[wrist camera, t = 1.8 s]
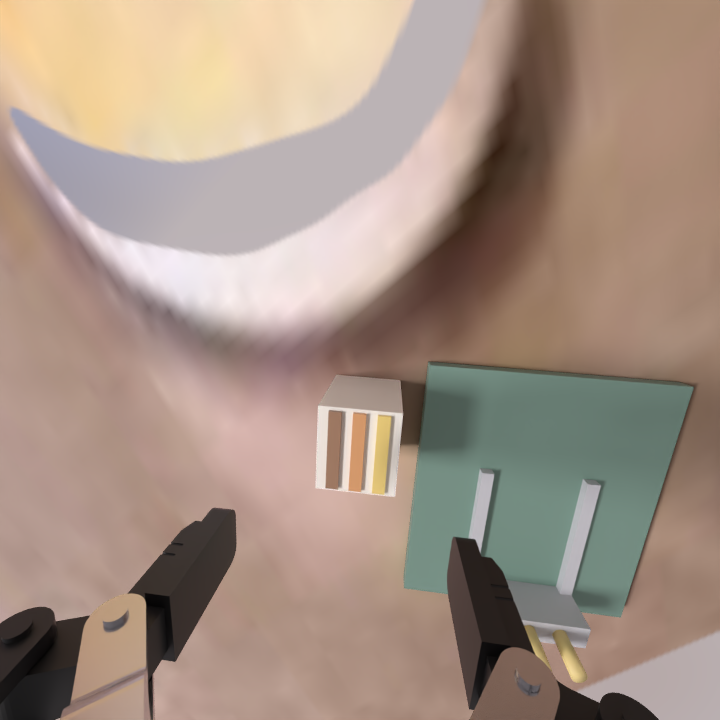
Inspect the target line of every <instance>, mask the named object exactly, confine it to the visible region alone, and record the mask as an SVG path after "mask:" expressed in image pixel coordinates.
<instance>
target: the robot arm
mask: <svg viewBox="0 0 720 720" xmlns="http://www.w3.org/2000/svg"><path fill="white" fill-rule="evenodd" d="M235 551H236V515H235V511H234V510H230V509H222V508H213V509H211V510H210V512H209V513H208V514H207V515H206V517H205V518H204V519H203V520H202V522H201V521H195V522H193V523H192V524H190V525H189V526H187V527H186V528H184V529H183V530H181V532H180V533H179V534H178V535H177V536H176V537H175V539H174V540H173V541H172V542H171V545H169V546H168V547H167V548H166V549H165V550H164V551H163V554H162V555H160V556H159V557H158V559H157V560H156V561H155V562H154V563H153V564H152V566H151V567H150V568H149V569H148V570H147V571H146V573H145V574H144V575H143V576H142V577H141V578H140V580H139V581H138V582H137V583H136V584H135V586H134V587H133V588H132V589H131V590H130V591H129V593H128V594H123V595H120V596H117V597H114V598H112V599H110V600H108V601H107V602H105V603H104V604H102V605H101V606H100V607H98V608H97V609H96V610H95V611H94V612H93V613H92V614H91V615H90V616H85V617H79V618H73V619H67V620H62V621H55V615H54V612H53V611H52V610H51V609H50V608H47V607H35V608H31V609H27V610H24V611H22V612H19V613H17V614H15V615H13V616H11V617H9V618H8V619H6V620H5V621H3V622H2V623H0V720H56V719H58V718H60V720H155V709H154V675H153V673H154V671H155V670H156V668H157V666H158V665H159V663H160V662H161V660H168V661H174V662H175V661H176V660H177V658H178V656H179V654H180V653H181V651H182V649H183V647H184V646H185V644H186V642H187V640H188V639H189V637H190V635H191V633H192V632H193V630H194V628H195V626H196V625H197V623H198V621H199V619H200V618H201V616H202V614H203V612H204V611H205V609H206V607H207V605H208V604H209V602H210V600H211V598H212V597H213V595H214V593H215V591H216V590H217V588H218V586H219V584H220V583H221V581H222V579H223V577H224V576H225V574H226V572H227V570H228V569H229V567H230V565H231V563H232V561H233V558H234V555H235ZM447 590H448V597H449V602H450V608H451V613H452V618H453V624H454V629H455V635H456V640H457V646H458V651H459V657H460V662H461V667H462V673H463V678H464V684H465V689H466V695H467V700H468V706H469V709H472V710H474V711H473V713H472V716H471V718H470V719H469V720H659V719H658V718H657V717H656V716H655V715H654V714H653V713H652V712H651V711H649V710H648V709H647V708H646V707H645V706H643V705H642V704H640V703H639V702H637V701H636V700H634V699H632V698H630V697H628V696H626V695H623V694H620V693H608V694H606V695H604V696H603V697H602V699H601V701H600V703H598V702H596V701H594V700H592V699H590V698H588V697H586V696H584V695H582V694H580V693H577V692H575V691H573V690H571V689H569V688H568V687H566V686H564V685H563V684H561V683H560V682H558V681H557V680H556V679H555V677H554V675H553V673H552V672H551V670H550V669H549V668H548V666H547V665H546V664H545V663H544V662H543V661H542V660H541V659H540V658H538V657H537V656H536V655H535V652H534V650H533V648H532V645H531V642H530V640H529V637H528V635H527V632H526V630H525V627H524V624H523V622H522V619H521V617H520V614H519V612H518V609H517V606H516V604H515V602H514V600H513V596H512V594H511V591H510V589H509V586H508V583H507V581H506V578H505V576H504V573H503V571H502V570H501V568H500V567H499V566H498V565H497V564H496V562H495V561H494V560H493V559H492V558H490V557H482V556H481V554H480V551H479V548H478V545H477V542H476V540H475V539H470V538H461V537H453V538H452V543H451V550H450V557H449V563H448V570H447Z"/></svg>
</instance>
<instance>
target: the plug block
mask: <svg viewBox="0 0 720 720" xmlns="http://www.w3.org/2000/svg"><path fill="white" fill-rule="evenodd" d="M402 420H403V406H402V394H401V381H400V380H392V379H381V378H369V377H358V376H346V375H336V376H335V378H334V380H333V381H332V383H331V385H330V386H329V388H328V390H327V392H326V393H325V395H324V397H323V398H322V400H321V402H320V403H319V405H318V427H317V458H316V488H320V489H329V490H338V491H347V492H355V493H364V494H373V495H382V496H391V497H395V491H396V481H397V471H398V460H399V450H400V440H401V430H402Z"/></svg>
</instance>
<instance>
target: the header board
mask: <svg viewBox="0 0 720 720" xmlns="http://www.w3.org/2000/svg"><path fill="white" fill-rule="evenodd" d="M693 388H694V387H692V386H690V385H687V384H684V383H681V382H672V381H660V380H648V379H635V378H623V377H611V376H599V375H586V374H574V373H562V372H550V371H538V370H525V369H513V368H501V367H489V366H476V365H464V364H452V363H440V362H428V368H427V377H426V386H425V395H424V403H423V412H422V421H421V430H420V438H419V447H418V456H417V465H416V473H415V482H414V491H413V500H412V509H411V517H410V526H409V535H408V544H407V552H406V561H405V570H404V588H407V589H414V590H421V591H429V592H436V593H444V594H448V590H447V570H448V563H449V557H450V550H451V543H452V538H453V537H461V538H470V539H475V540H476V542H477V545H478V548H479V551H480V554H481V556H482V557H490V558H492V559H493V560H494V561H495V562H496V564H497V565H498V566H499V567H500V568H501V570H502V571H503V573H504V576H505V578H506V581H507V583H508V586H509V589H510V591H511V594H512V596H513V600H514V602H515V604H516V606H517V609H518V612H519V614H520V617H521V619H522V622H523V624H524V627H525V630H526V632H527V635H528V637H529V640H530V642H531V645H532V648H533V650H534V652H535V655H536V656H537V657H538V658H540V659H541V660H542V661H543V662H544V663H545V664H546V665H547V666H548V668H549V669H550V670H551V667H550V665H549V662H548V660H547V657H546V655H545V652H544V650H543V647H542V645H541V643H540V642H545V643H552V644H556V645H557V648H558V650H559V652H560V654H561V656H562V659H563V661H564V663H565V665H566V668H567V670H568V672H569V674H570V676H571V679H572V680H573V681H574V682H577V683H582V682H584V681H586V680H587V674H586V672H585V670H584V668H583V666H582V664H581V662H580V660H579V658H578V656H577V654H576V652H575V650H574V648H573V647H580V648H586V644H587V641H588V637H589V634H590V631H591V629H590V627H589V625H588V624H587V622H586V620H585V618H584V617H583V615H582V613H581V612H584V613H591V614H599V615H606V616H614V617H621V615H622V612H623V608H624V605H625V602H626V599H627V596H628V593H629V590H630V586H631V583H632V580H633V577H634V574H635V571H636V567H637V564H638V561H639V558H640V555H641V552H642V549H643V545H644V542H645V539H646V536H647V533H648V530H649V527H650V523H651V520H652V517H653V514H654V511H655V508H656V505H657V501H658V498H659V495H660V492H661V489H662V486H663V483H664V479H665V476H666V473H667V470H668V467H669V464H670V460H671V457H672V454H673V451H674V448H675V445H676V442H677V438H678V435H679V432H680V429H681V426H682V423H683V420H684V416H685V413H686V410H687V407H688V404H689V401H690V398H691V394H692V391H693ZM551 672H552V670H551Z"/></svg>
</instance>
